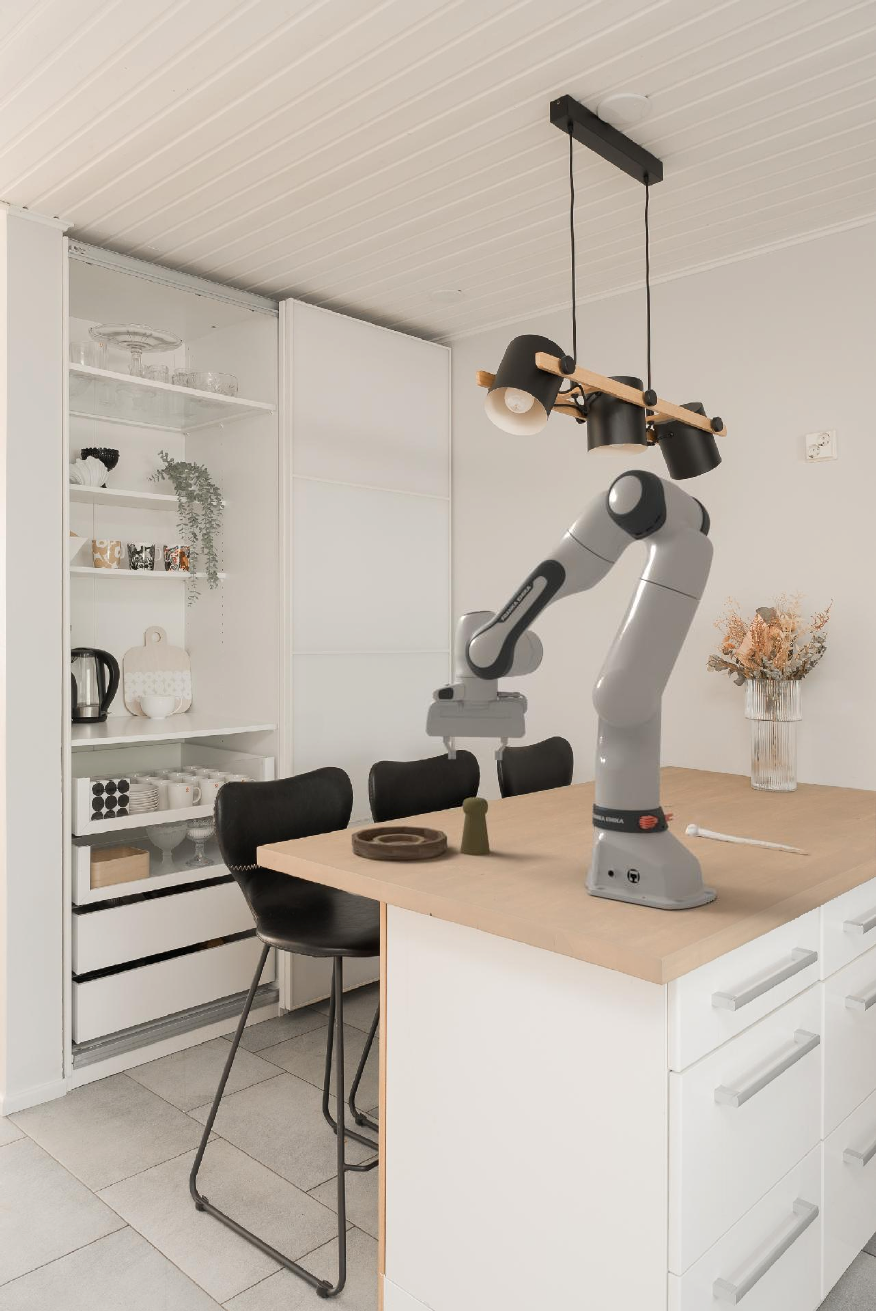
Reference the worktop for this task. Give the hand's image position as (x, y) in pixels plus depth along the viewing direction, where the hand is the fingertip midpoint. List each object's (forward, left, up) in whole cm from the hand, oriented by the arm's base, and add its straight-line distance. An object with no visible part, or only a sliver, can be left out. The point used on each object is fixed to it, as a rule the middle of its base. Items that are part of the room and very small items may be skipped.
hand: (475, 759), depth 191 cm
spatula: (-30, -50, -20) cm, 62 cm away
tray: (+11, +11, -19) cm, 24 cm away
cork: (0, 0, -19) cm, 19 cm away
